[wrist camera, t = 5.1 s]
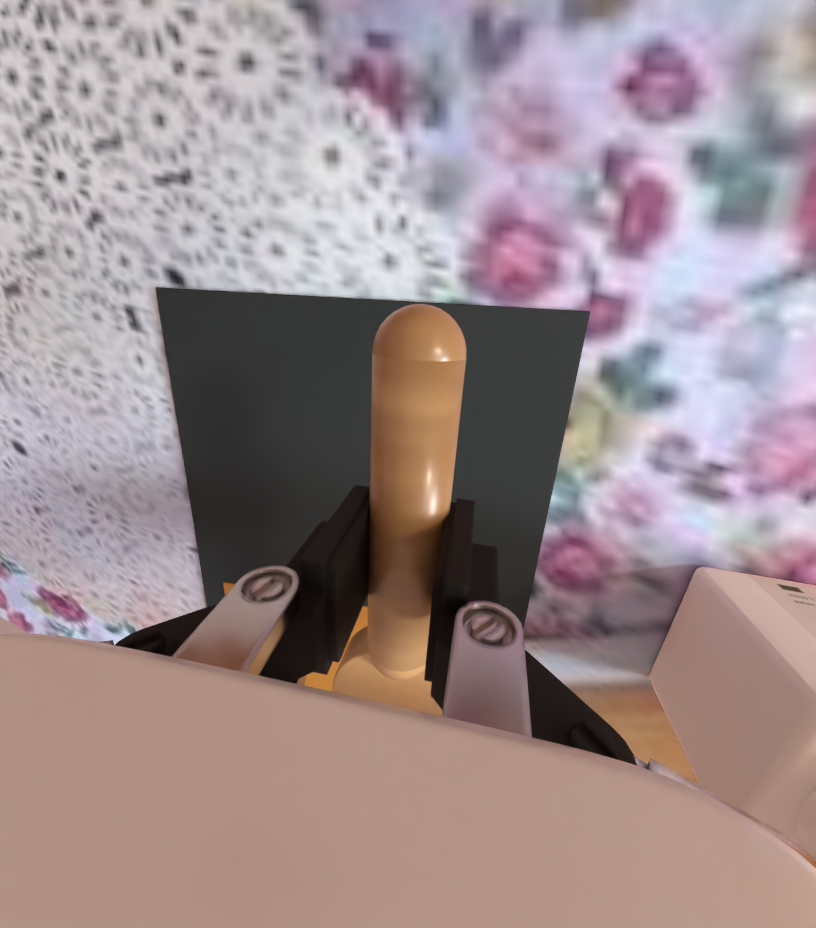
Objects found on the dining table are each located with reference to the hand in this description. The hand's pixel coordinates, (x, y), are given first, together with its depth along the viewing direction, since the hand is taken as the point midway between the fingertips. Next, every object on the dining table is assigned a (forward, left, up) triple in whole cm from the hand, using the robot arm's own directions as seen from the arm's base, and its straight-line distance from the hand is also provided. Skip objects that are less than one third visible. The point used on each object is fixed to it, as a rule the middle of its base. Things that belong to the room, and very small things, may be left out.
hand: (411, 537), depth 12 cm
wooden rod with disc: (+1, 0, 0) cm, 2 cm away
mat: (+6, -4, -8) cm, 11 cm away
